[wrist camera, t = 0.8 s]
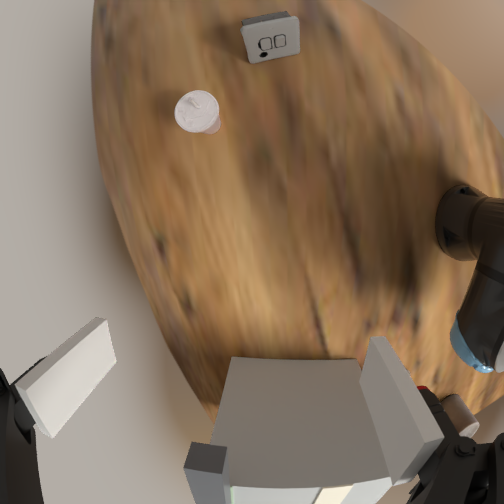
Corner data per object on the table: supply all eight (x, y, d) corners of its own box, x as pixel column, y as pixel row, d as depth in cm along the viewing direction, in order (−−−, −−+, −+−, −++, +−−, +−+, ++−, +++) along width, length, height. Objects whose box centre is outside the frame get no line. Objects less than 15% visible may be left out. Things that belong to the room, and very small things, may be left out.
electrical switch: (250, 65, 40) (243, 37, 31) (242, 45, 40) (235, 16, 31) (300, 54, 39) (303, 25, 30) (291, 35, 39) (292, 5, 29)
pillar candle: (427, 419, 55) (445, 453, 41) (443, 395, 53) (465, 429, 39) (449, 415, 55) (468, 446, 41) (464, 391, 53) (487, 422, 38)
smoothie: (236, 127, 43) (221, 103, 30) (205, 149, 44) (179, 135, 31) (215, 100, 42) (193, 70, 29) (185, 122, 43) (153, 101, 30)
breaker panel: (231, 356, 53) (199, 483, 24) (356, 358, 51) (401, 475, 22) (232, 411, 57) (210, 520, 28) (340, 412, 55) (363, 517, 26)
